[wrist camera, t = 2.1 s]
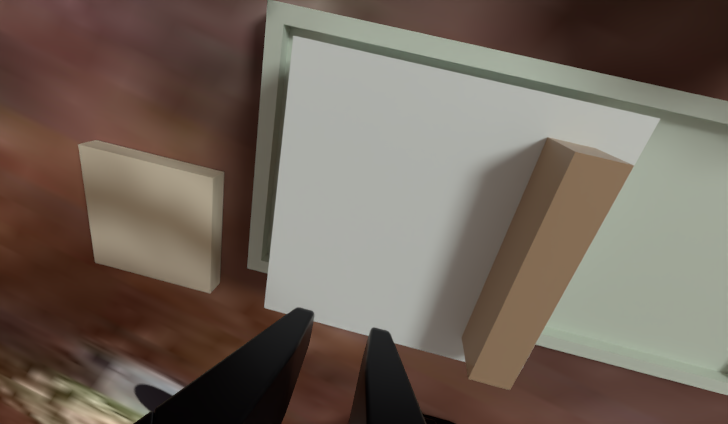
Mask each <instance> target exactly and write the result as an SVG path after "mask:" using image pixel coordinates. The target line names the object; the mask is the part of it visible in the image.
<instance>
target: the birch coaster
mask: <svg viewBox="0 0 728 424" xmlns="http://www.w3.org/2000/svg"><path fill="white" fill-rule="evenodd" d="M78 146H79V153H80V160H81V167H82V175H83V182H84V189H85V196H86V203H87V210H88V217H89V224H90V231H91V238H92V245H93V252H94V259H95V263H99V264H102V265H106V266H110V267H114V268H117V269H121V270H125V271H128V272H132V273H136V274H140V275H143V276H147V277H151V278H154V279H158V280H162V281H165V282H169V283H173V284H177V285H180V286H184V287H188V288H191V289H195V290H199V291H203V292H206V293H211V292H212V291H213V290H214V289H215V288H216V287H217V286H218V284H219V283H220V268H221V242H222V216H223V190H224V172H222V171H218V170H214V169H210V168H206V167H202V166H198V165H194V164H190V163H186V162H182V161H178V160H174V159H170V158H166V157H162V156H158V155H154V154H150V153H146V152H142V151H138V150H134V149H130V148H126V147H122V146H118V145H114V144H110V143H106V142H102V141H98V140H95V141H91V142H86V143H82V144H78Z"/></svg>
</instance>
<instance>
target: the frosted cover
mask: <svg viewBox="0 0 728 424" xmlns="http://www.w3.org/2000/svg"><path fill="white" fill-rule="evenodd" d="M659 120H660V118H656V117H651V116H647V115H642V114H638V113H633V112H629V111H625V110H620V109H616V108H611V107H607V106H603V105H598V104H594V103H589V102H585V101H580V100H576V99H572V98H567V97H563V96H558V95H554V94H550V93H545V92H541V91H536V90H532V89H527V88H523V87H519V86H514V85H510V84H505V83H501V82H497V81H492V80H488V79H483V78H479V77H474V76H470V75H466V74H461V73H457V72H452V71H448V70H444V69H439V68H435V67H430V66H426V65H422V64H417V63H413V62H408V61H404V60H399V59H395V58H391V57H386V56H382V55H377V54H373V53H369V52H364V51H360V50H355V49H351V48H346V47H342V46H338V45H333V44H329V43H324V42H320V41H316V40H311V39H307V38H302V37H298V36H293V43H292V53H291V62H290V71H289V81H288V90H287V99H286V109H285V118H284V127H283V136H282V146H281V155H280V164H279V174H278V183H277V192H276V202H275V211H274V220H273V230H272V239H271V248H270V258H269V267H268V276H267V285H266V295H265V304H264V308H267V309H270V310H274V311H278V312H282V313H285V314H288V313H289V312H291V311H292V310H293V309H295V308H297V307H301V308H304V309H308V310H312V311H313V312H314V321H315V322H319V323H322V324H326V325H330V326H333V327H337V328H341V329H345V330H348V331H352V332H356V333H359V334H363V335H367V336H369V333H370V330H371V328H373V327H375V328H379V329H383V330H387V331H389V332H390V334H391V336H392V339H393V341H394V343H397V344H400V345H404V346H408V347H411V348H415V349H419V350H423V351H426V352H430V353H434V354H437V355H441V356H445V357H449V358H452V359H456V360H460V361H463V362H466V368H467V374H468V379H471V380H474V381H478V382H482V383H485V384H489V385H493V386H496V387H500V388H504V389H507V390H510V389H511V387H512V385H513V384H514V382H515V380H516V378H517V376H518V375H519V373H520V371H521V369H522V368H523V366H524V364H525V362H526V360H527V359H528V357H529V355H530V353H531V351H532V350H533V348H534V346H535V344H536V342H537V340H538V339H539V337H540V335H541V333H542V331H543V330H544V328H545V326H546V324H547V322H548V321H549V319H550V317H551V315H552V313H553V312H554V310H555V308H556V306H557V304H558V303H559V301H560V299H561V297H562V295H563V294H564V292H565V290H566V288H567V286H568V285H569V283H570V281H571V279H572V277H573V276H574V274H575V272H576V270H577V268H578V267H579V265H580V263H581V261H582V259H583V257H584V256H585V254H586V252H587V250H588V248H589V247H590V245H591V243H592V241H593V239H594V238H595V236H596V234H597V232H598V230H599V229H600V227H601V225H602V223H603V221H604V220H605V218H606V216H607V214H608V212H609V211H610V209H611V207H612V205H613V203H614V202H615V200H616V198H617V196H618V194H619V193H620V191H621V189H622V187H623V185H624V184H625V182H626V180H627V178H628V176H629V175H630V173H631V171H632V169H633V167H634V165H635V164H636V162H637V160H638V158H639V156H640V155H641V153H642V151H643V149H644V147H645V146H646V144H647V142H648V140H649V138H650V137H651V135H652V133H653V131H654V129H655V128H656V126H657V124H658V122H659Z"/></svg>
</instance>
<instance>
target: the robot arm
mask: <svg viewBox="0 0 728 424" xmlns="http://www.w3.org/2000/svg"><path fill="white" fill-rule="evenodd" d="M313 321H314V312H313V311H312V310H308V309H304V308H301V307H297V308H295V309H293V310H292V311H291V312H289V313H288V314H286V315H285V316H284V317H282V318H281V319H279V320H278V321H277V322H275V323H274V324H272V325H271V326H270V327H268V328H267V329H265V330H264V331H263V332H261V333H260V334H258V335H257V336H256V337H254V338H253V339H251V340H250V341H249V342H247V343H246V344H245V345H243V346H242V347H240V348H239V349H238V350H236V351H235V352H233V353H232V354H231V355H229V356H228V357H226V358H225V359H224V360H222V361H221V362H219V363H218V364H217V365H215V366H214V367H212V368H211V369H210V370H208V371H207V372H205V373H204V374H203V375H201V376H200V377H198V378H197V379H196V380H194V381H193V382H191V383H190V384H189V385H187V386H186V387H184V388H183V389H182V390H180V391H179V392H177V393H176V394H175V395H173V396H172V397H170V398H169V399H168V400H166V401H165V402H164V403H162V404H161V405H159V406H158V407H157V408H156V409H155V412H149V413H148V414H146V415H145V416H144V417H142V418H141V419H139V420H138V421H137V422H135V423H134V424H281V423H282V420H283V418H284V416H285V413H286V410H287V408H288V405H289V402H290V399H291V396H292V393H293V390H294V387H295V384H296V381H297V378H298V375H299V372H300V370H301V367H302V364H303V361H304V358H305V355H306V352H307V349H308V346H309V342H310V337H311V332H312V326H313ZM349 424H455V423H451V422H448V421H444V420H441V419H437V418H433V417H430V416H426V415H423V414H422V412H421V409H420V407H419V404H418V402H417V399H416V397H415V394H414V392H413V389H412V387H411V384H410V382H409V379H408V377H407V374H406V372H405V369H404V367H403V364H402V362H401V359H400V357H399V354H398V352H397V349H396V346H395V344H394V341H393V339H392V336H391V334H390V332H389V331H387V330H383V329H379V328H375V327H373V328H371V330H370V333H369V336H368V340H367V344H366V347H365V351H364V354H363V358H362V363H361V367H360V372H359V377H358V382H357V386H356V391H355V396H354V400H353V405H352V410H351V414H350V419H349Z"/></svg>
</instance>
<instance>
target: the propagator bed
mask: <svg viewBox="0 0 728 424" xmlns="http://www.w3.org/2000/svg"><path fill="white" fill-rule="evenodd" d="M293 36H298V37H302V38H307V39H311V40H316V41H320V42H324V43H329V44H333V45H338V46H342V47H346V48H351V49H355V50H360V51H364V52H369V53H373V54H377V55H382V56H386V57H391V58H395V59H399V60H404V61H408V62H413V63H417V64H422V65H426V66H430V67H435V68H439V69H444V70H448V71H452V72H457V73H461V74H466V75H470V76H474V77H479V78H483V79H488V80H492V81H497V82H501V83H505V84H510V85H514V86H519V87H523V88H527V89H532V90H536V91H541V92H545V93H550V94H554V95H558V96H563V97H567V98H572V99H576V100H580V101H585V102H589V103H594V104H598V105H603V106H607V107H611V108H616V109H620V110H625V111H629V112H633V113H638V114H642V115H647V116H651V117H656V118H660V120H659V122H658V124H657V126H656V128H655V129H654V131H653V133H652V135H651V137H650V138H649V140H648V142H647V144H646V146H645V147H644V149H643V151H642V153H641V155H640V156H639V158H638V160H637V162H636V164H635V165H634V167H633V169H632V171H631V173H630V175H629V176H628V178H627V180H626V182H625V184H624V185H623V187H622V189H621V191H620V193H619V194H618V196H617V198H616V200H615V202H614V203H613V205H612V207H611V209H610V211H609V212H608V214H607V216H606V218H605V220H604V221H603V223H602V225H601V227H600V229H599V230H598V232H597V234H596V236H595V238H594V239H593V241H592V243H591V245H590V247H589V248H588V250H587V252H586V254H585V256H584V257H583V259H582V261H581V263H580V265H579V267H578V268H577V270H576V272H575V274H574V276H573V277H572V279H571V281H570V283H569V285H568V286H567V288H566V290H565V292H564V294H563V295H562V297H561V299H560V301H559V303H558V304H557V306H556V308H555V310H554V312H553V313H552V315H551V317H550V319H549V321H548V322H547V324H546V326H545V328H544V330H543V331H542V333H541V335H540V337H539V339H538V340H537V342H536V345H539V346H543V347H547V348H551V349H555V350H558V351H562V352H566V353H570V354H573V355H577V356H581V357H585V358H589V359H592V360H596V361H600V362H604V363H608V364H611V365H615V366H619V367H623V368H627V369H630V370H634V371H638V372H642V373H645V374H649V375H653V376H657V377H661V378H664V379H668V380H672V381H676V382H680V383H683V384H687V385H691V386H695V387H698V388H702V389H706V390H710V391H714V392H717V393H721V394H725V395H728V101H724V100H720V99H715V98H710V97H706V96H701V95H697V94H692V93H688V92H683V91H679V90H674V89H670V88H665V87H661V86H656V85H652V84H647V83H643V82H638V81H634V80H629V79H625V78H620V77H616V76H611V75H607V74H602V73H598V72H593V71H589V70H584V69H580V68H575V67H571V66H566V65H562V64H557V63H553V62H548V61H544V60H539V59H535V58H530V57H526V56H521V55H517V54H512V53H508V52H503V51H499V50H494V49H490V48H485V47H481V46H476V45H472V44H467V43H463V42H458V41H453V40H449V39H444V38H440V37H435V36H431V35H426V34H422V33H417V32H413V31H408V30H404V29H399V28H395V27H390V26H386V25H381V24H377V23H372V22H368V21H363V20H359V19H354V18H350V17H345V16H341V15H336V14H332V13H327V12H323V11H318V10H314V9H309V8H305V7H300V6H296V5H291V4H287V3H282V2H278V1H273V0H268V2H267V15H266V28H265V41H264V54H263V67H262V80H261V93H260V106H259V119H258V132H257V145H256V158H255V172H254V185H253V198H252V211H251V224H250V237H249V250H248V263H247V268H248V269H252V270H255V271H259V272H263V273H267V274H268V267H269V258H270V248H271V239H272V230H273V220H274V211H275V202H276V192H277V183H278V174H279V164H280V155H281V146H282V136H283V127H284V118H285V109H286V99H287V90H288V81H289V71H290V62H291V53H292V43H293Z"/></svg>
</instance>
